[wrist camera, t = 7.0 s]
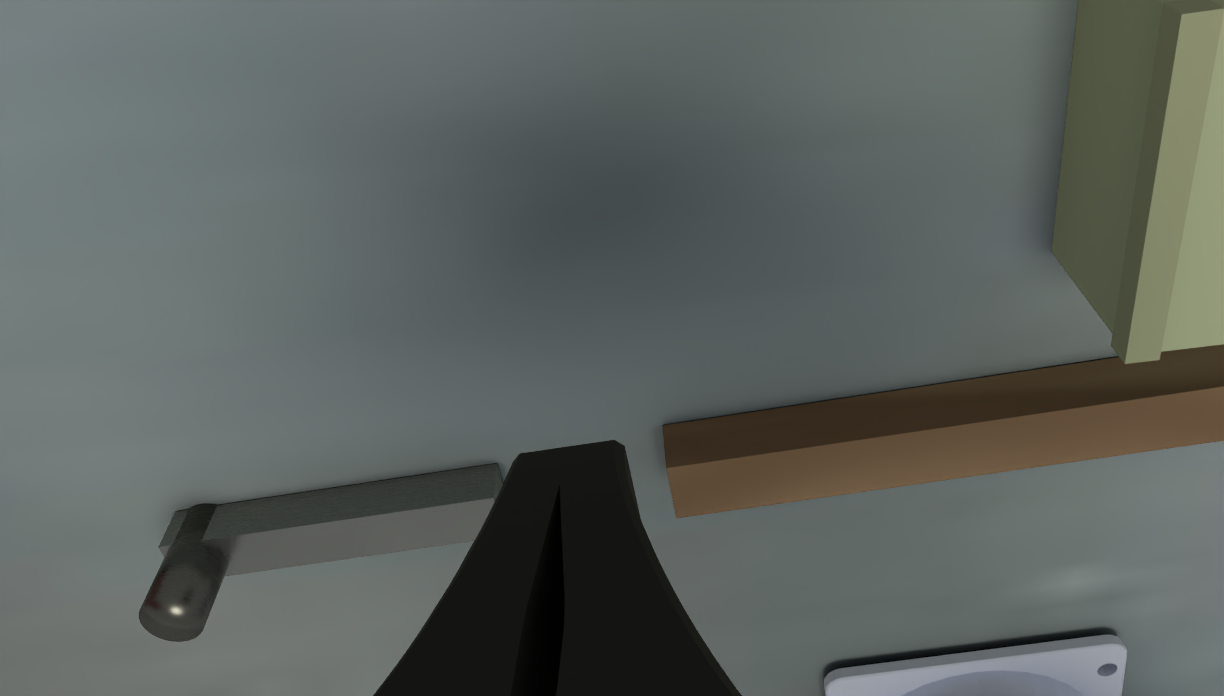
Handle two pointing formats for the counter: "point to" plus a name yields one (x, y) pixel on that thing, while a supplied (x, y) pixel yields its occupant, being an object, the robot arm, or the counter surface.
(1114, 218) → the box
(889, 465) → the bay
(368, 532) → the crank handle
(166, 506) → the counter surface
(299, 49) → the counter surface
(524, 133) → the counter surface
